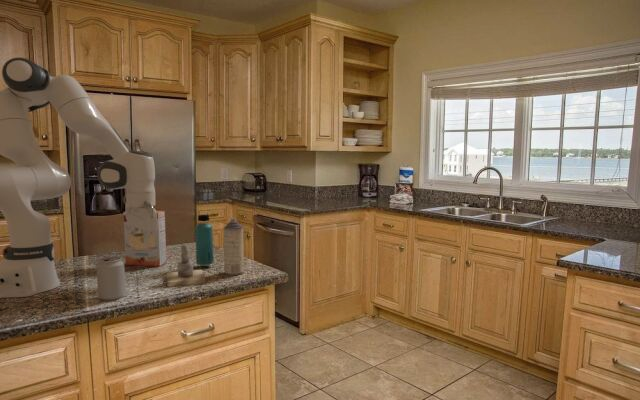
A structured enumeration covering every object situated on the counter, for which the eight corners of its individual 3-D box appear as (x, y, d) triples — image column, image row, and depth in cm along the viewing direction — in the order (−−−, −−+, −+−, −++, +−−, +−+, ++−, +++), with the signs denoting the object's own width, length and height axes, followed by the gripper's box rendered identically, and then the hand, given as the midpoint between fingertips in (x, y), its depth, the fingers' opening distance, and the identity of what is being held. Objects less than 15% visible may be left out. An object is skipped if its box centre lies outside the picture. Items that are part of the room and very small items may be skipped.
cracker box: (124, 265, 168) (122, 211, 165) (133, 261, 173) (131, 209, 171) (159, 267, 166) (157, 212, 163) (167, 263, 172) (165, 210, 169)
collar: (129, 245, 147) (129, 233, 146) (147, 243, 151) (147, 232, 150) (136, 249, 143) (136, 237, 142) (154, 246, 147) (154, 235, 146)
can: (106, 293, 136) (104, 255, 135) (130, 293, 136) (128, 255, 134) (93, 301, 129) (90, 261, 127) (118, 301, 128) (116, 261, 127)
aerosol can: (247, 272, 159) (246, 218, 157) (232, 276, 154) (231, 220, 152) (235, 269, 164) (235, 216, 161) (220, 273, 158) (219, 218, 156)
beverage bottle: (209, 269, 163) (208, 216, 161) (192, 268, 164) (191, 215, 162) (216, 265, 169) (215, 213, 167) (201, 264, 171) (199, 213, 168)
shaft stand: (167, 286, 142) (166, 250, 141) (166, 276, 154) (165, 243, 152) (205, 283, 147) (204, 247, 145) (202, 273, 158) (201, 240, 156)
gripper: (162, 203, 139) (163, 246, 141) (140, 196, 154) (141, 234, 156) (142, 204, 135) (142, 248, 137) (121, 197, 150) (122, 236, 152)
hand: (141, 241), depth 147 cm, fingers closed on collar, 6 cm apart
